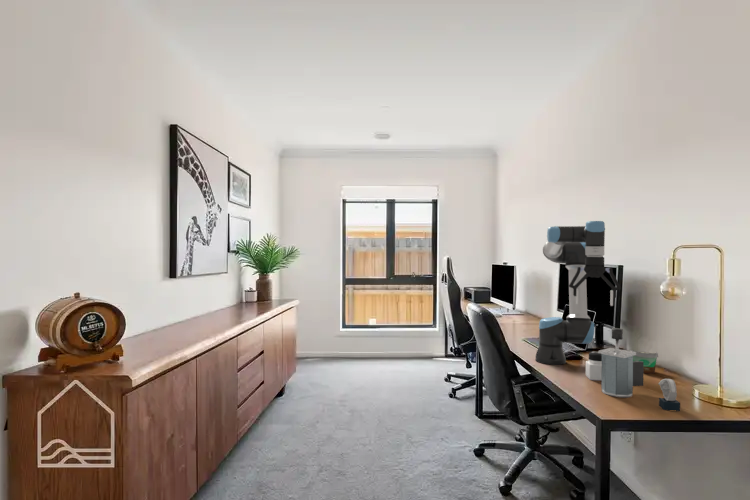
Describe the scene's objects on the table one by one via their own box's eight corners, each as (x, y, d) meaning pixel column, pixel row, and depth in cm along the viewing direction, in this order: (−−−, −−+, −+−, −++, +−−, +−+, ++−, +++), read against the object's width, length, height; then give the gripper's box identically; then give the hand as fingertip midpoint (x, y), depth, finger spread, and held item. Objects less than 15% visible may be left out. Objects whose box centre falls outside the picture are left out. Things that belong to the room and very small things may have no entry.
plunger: (611, 380, 188) (611, 326, 188) (632, 385, 181) (633, 329, 181) (601, 383, 183) (601, 328, 183) (622, 389, 176) (623, 331, 176)
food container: (632, 373, 213) (633, 352, 213) (629, 369, 219) (629, 349, 219) (661, 375, 209) (662, 354, 209) (657, 371, 215) (657, 351, 215)
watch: (673, 405, 168) (673, 377, 168) (682, 413, 160) (682, 383, 160) (656, 404, 170) (657, 375, 170) (664, 411, 162) (664, 381, 162)
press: (614, 385, 193) (615, 346, 193) (644, 392, 183) (644, 351, 183) (596, 392, 184) (596, 350, 183) (626, 400, 174) (626, 356, 174)
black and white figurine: (606, 381, 199) (606, 354, 199) (589, 380, 201) (589, 353, 201) (601, 376, 206) (601, 351, 206) (585, 375, 208) (585, 350, 208)
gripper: (563, 256, 193) (563, 304, 193) (628, 257, 183) (627, 307, 184) (563, 255, 199) (563, 301, 200) (625, 256, 190) (625, 304, 191)
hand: (594, 304), depth 192 cm, fingers open, 13 cm apart
